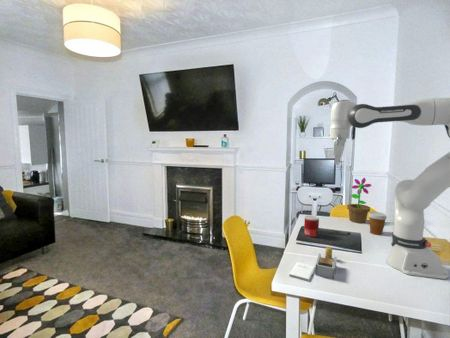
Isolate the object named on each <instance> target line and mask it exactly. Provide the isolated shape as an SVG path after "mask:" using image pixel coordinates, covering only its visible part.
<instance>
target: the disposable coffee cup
mask: <svg viewBox="0 0 450 338" xmlns="http://www.w3.org/2000/svg"><path fill="white" fill-rule="evenodd" d="M368 217H369V218H368V220H369V233H370V234H372V235H376V236H381V235H382V234H383V232H384V227H385V223H386V219H387V218H388V217H387V214H385V213H383V212H378V211H370V212H368Z"/></svg>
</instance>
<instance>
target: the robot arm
mask: <svg viewBox="0 0 450 338" xmlns="http://www.w3.org/2000/svg"><path fill="white" fill-rule="evenodd" d="M329 120H330V125H329V126H330V127H329V139H331V142H332V143H333V146H332V155H333V156H334V164H335V165H337V166H338V165H340V162H341V158H342V155H343V153H344V149H345V145H346V143H347V139H348V140H349V139H350V133H351V127H354V128H357V129H363V128H367V127H369V126H371V125H373V124H376V123H377V124H378V123H388V122H389V123H390V122H392V123H393V122H403V123H405V124H406V123H407V124H409V125H412V126H439V125H440V126H444V128H445V130H446V134H447V136H448V138H449V139H450V97H435V98H431V97H430V98H423V99H419V100H415V101H412V102H409V103H405V104H401V105H391V106H389V105H388V106H373V105H371V104H370V105H369V104H367V103H366V104H365V103H359V104H357V103H355V102H353V101H351V100H350V99H341V100H338V101H336V102H334V103H333V104H332V106H331V110H330V119H329ZM449 188H450V151H449V152H447V153H446V154H444V155H442V156H441V157H440V158H438V159H437V160H435V161H434V162H432V163H431V164H430V165H428V166H426V167H425V169H424V170H423V171H422V172H421V173H419V175H417V176H416V177H415V178H414V179H404V180H401V181H399V182H398V183H397V184H396V186H395V190H394V220H393V230H392V233H391V236H390V245H391V246H390V250H389V253H388V256H387V258H386V263H387V264H388V265H389V266H391V267H392V268H394V269H396V270H398V271H401V272H402V273H404V274H405V275H410V276H415V277H416V276H417V277H424V278H430V279H431V278H432V279H440V280H448V279H449V277H448V276H449V271H448V270H447V268H445V267H444V266H443V263H442V260H441V258H440V256H439V255H438V254H437V253H436V252H434V251H433V250H431V247H432V244H431V242H429V241H428V239H426V238H425V237H424V230H425V213H424V211H425V209H428V207H429V206H430V205H431V204H432V202H434V201H435V200H436V199H438V198H439V196H441V195H442V194H443V193H444V192H445V191H446V190H448V189H449ZM447 278H448V279H447Z"/></svg>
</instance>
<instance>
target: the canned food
mask: <svg viewBox="0 0 450 338" xmlns="http://www.w3.org/2000/svg"><path fill="white" fill-rule="evenodd" d="M319 223H320V218H319V216H316V215H308V214H307V215H305V216H304V226H303V227H304V230H303V234H304V236H305V235H306V236H305V237H307V236H310V237H309V238H317V237H318V236H319V225H320V224H319ZM316 236H317V237H316Z"/></svg>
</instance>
